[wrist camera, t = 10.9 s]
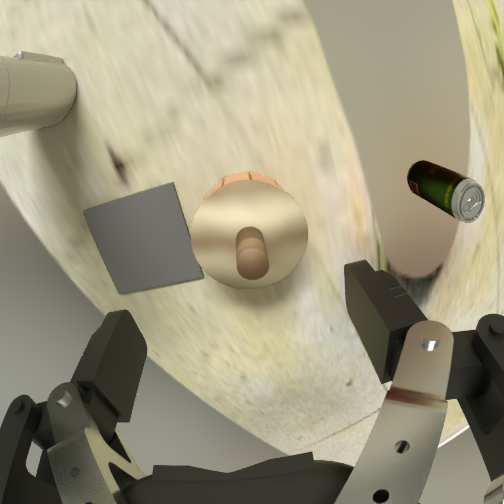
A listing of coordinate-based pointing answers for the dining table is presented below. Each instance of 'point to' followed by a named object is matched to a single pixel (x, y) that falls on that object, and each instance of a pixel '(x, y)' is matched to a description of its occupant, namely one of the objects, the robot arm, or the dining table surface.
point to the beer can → (447, 190)
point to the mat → (144, 239)
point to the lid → (249, 234)
